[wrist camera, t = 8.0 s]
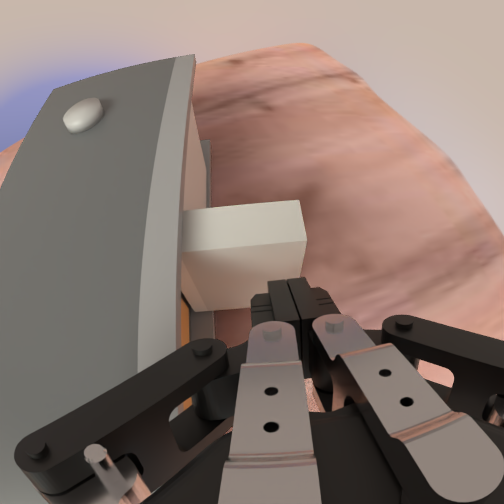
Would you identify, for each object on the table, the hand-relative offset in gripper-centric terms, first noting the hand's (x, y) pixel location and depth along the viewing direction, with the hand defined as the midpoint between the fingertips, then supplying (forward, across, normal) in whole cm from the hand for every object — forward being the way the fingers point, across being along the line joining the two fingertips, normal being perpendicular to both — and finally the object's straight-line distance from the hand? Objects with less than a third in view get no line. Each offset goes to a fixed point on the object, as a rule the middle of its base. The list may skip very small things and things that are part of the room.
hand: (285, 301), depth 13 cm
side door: (+9, +2, -1) cm, 9 cm away
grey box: (+7, +10, +2) cm, 13 cm away
